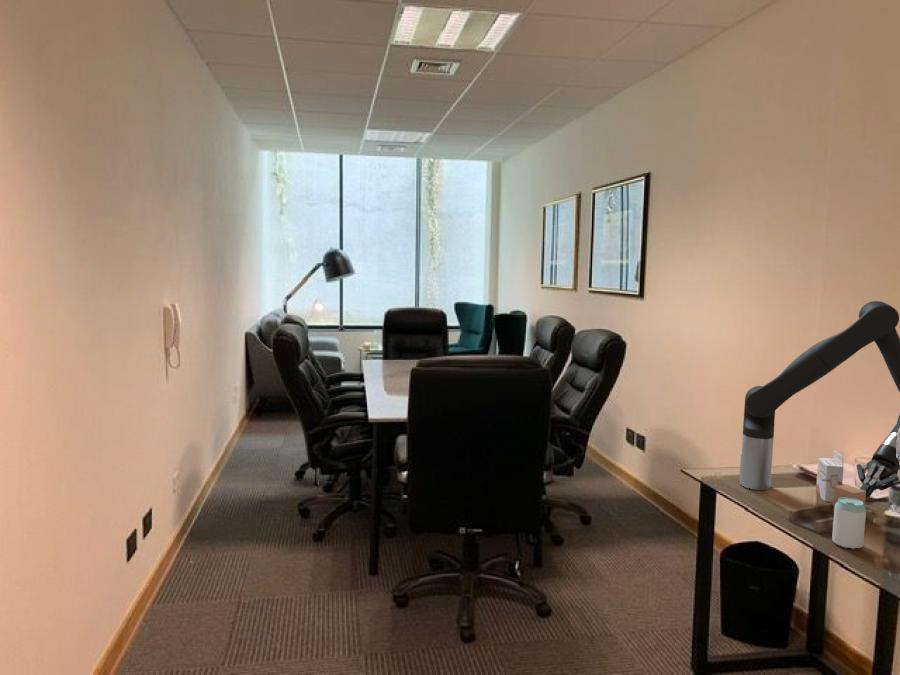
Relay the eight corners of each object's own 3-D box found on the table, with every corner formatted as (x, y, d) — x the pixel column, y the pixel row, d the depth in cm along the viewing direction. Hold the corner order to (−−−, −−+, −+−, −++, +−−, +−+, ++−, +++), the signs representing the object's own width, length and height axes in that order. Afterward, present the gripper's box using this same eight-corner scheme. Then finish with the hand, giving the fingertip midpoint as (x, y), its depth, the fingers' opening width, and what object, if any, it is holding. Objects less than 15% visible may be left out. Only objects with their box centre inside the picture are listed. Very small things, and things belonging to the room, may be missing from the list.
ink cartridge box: (814, 492, 213) (818, 448, 211) (831, 493, 212) (835, 449, 210) (824, 501, 204) (827, 455, 203) (841, 503, 203) (845, 457, 202)
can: (869, 549, 171) (873, 505, 169) (845, 551, 170) (848, 506, 168) (849, 538, 178) (852, 495, 176) (825, 539, 177) (829, 496, 175)
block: (844, 510, 195) (846, 484, 194) (863, 517, 189) (866, 491, 189) (832, 512, 193) (834, 486, 192) (851, 520, 188) (854, 493, 187)
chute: (842, 510, 197) (843, 500, 197) (872, 522, 189) (873, 511, 188) (788, 521, 189) (789, 510, 189) (818, 533, 180) (819, 522, 180)
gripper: (867, 438, 201) (835, 481, 198) (911, 449, 189) (878, 496, 185) (877, 453, 203) (846, 496, 200) (921, 465, 191) (889, 512, 188)
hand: (862, 496), depth 193 cm, fingers closed
